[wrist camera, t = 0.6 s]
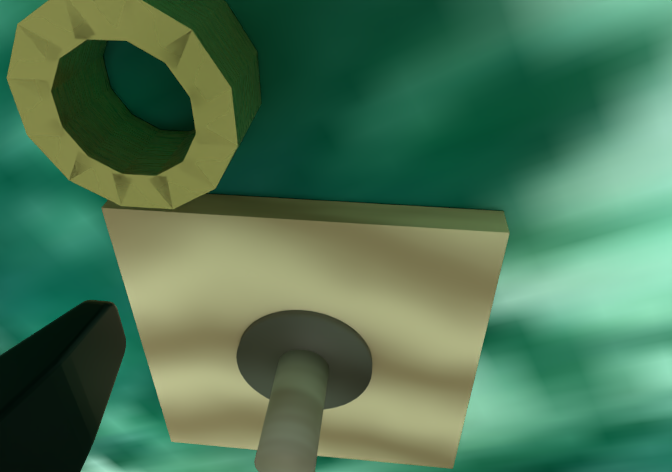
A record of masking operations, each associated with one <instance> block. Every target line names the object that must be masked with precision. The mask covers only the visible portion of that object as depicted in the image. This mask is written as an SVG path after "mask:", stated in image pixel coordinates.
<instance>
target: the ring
mask: <svg viewBox="0 0 672 472" xmlns="http://www.w3.org/2000/svg"><path fill="white" fill-rule="evenodd" d="M107 40H118V41H128V42H130V43H131V44H133V45H135V46H137V47H138V48H140V49H142V50H144V51H145V52H147V53H149V54H151V55H152V56H154V57H156V58H158V59H159V60H161V61H163V62H165V63H166V65H167V66H168V68H169V69H170V70H171V72H172V73H173V74H174V76H175V77H176V79H177V80H178V81H179V83H180V84H181V85H182V87H183V88H184V90H185V91H186V92H187V94H188V95H189V96H190V99H191V105H192V111H193V118H194V124H195V129H193V130H192V131H171V130H160V129H158V128H156V127H154V126H152V125H150V124H148V123H147V122H145V121H143V120H141V119H139V118H137V117H135V116H134V115H132V114H131V113H130V112H129V110H128V109H127V108H126V107H125V105H124V104H123V103H122V102H121V100H120V99H119V98H118V97H117V95H116V94H115V93H114V92H113V90H112V89H111V88H110V84H109V80H108V76H107V72H106V68H105V64H104V60H103V53H104V50H105V47H106V43H107ZM7 81H8V83H9V86H10V89H11V92H12V94H13V97H14V100H15V103H16V105H17V108H18V111H19V114H20V116H21V119H22V122H23V125H24V127H25V130H26V133H27V135H28V136H29V138H30V139H31V140H32V141H33V142H34V143H35V144H36V145H37V146H38V147H39V148H40V149H41V150H42V152H43V153H44V154H45V155H46V156H47V157H48V158H49V159H50V160H51V161H52V162H53V163H54V164H55V166H56V167H57V168H58V169H59V170H60V171H61V172H62V173H63V174H64V175H65V176H66V177H67V178H68V179H69V180H70V181H72V182H74V183H76V184H78V185H80V186H82V187H84V188H86V189H88V190H90V191H92V192H94V193H96V194H98V195H100V196H102V197H104V198H106V199H108V200H110V201H112V202H114V203H116V204H118V205H120V206H128V207H145V208H161V209H175V208H177V207H179V206H181V205H183V204H185V203H187V202H189V201H191V200H193V199H195V198H197V197H199V196H201V195H203V194H205V193H207V192H209V191H211V190H214V189H215V188H216V187H217V185H218V183H219V181H220V179H221V178H222V176H223V174H224V172H225V170H226V169H227V167H228V165H229V163H230V161H231V160H232V158H233V156H234V154H235V152H236V151H237V149H238V147H239V145H240V143H241V141H242V140H243V138H244V136H245V134H246V132H247V130H248V128H249V126H250V124H251V122H252V121H253V119H254V117H255V115H256V113H257V111H258V109H259V107H260V105H261V104H262V103H261V91H260V78H259V66H258V53H257V51H256V49H255V47H254V46H253V44H252V43H251V41H250V39H249V38H248V36H247V35H246V33H245V31H244V30H243V28H242V27H241V25H240V24H239V22H238V20H237V19H236V17H235V16H234V14H233V12H232V11H231V9H230V8H229V6H228V4H227V3H226V1H224V0H48V1H47V2H46V3H45V4H43V5H42V6H41V7H39V8H38V9H37V10H35V11H34V12H33V13H31V14H30V15H29V16H27V17H26V18H25V19H24V20H22V21H21V22H20V23H18V24H17V29H16V34H15V40H14V45H13V50H12V55H11V60H10V65H9V70H8V75H7Z"/></svg>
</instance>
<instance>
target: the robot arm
mask: <svg viewBox="0 0 672 472" xmlns="http://www.w3.org/2000/svg"><path fill="white" fill-rule="evenodd" d="M125 348H126V338H125V334H124V331H123V327H122V324H121V320H120V317H119V313H118V310H117V307H116V306H115V304H114V303H112V302H108V301H97V300H87V301H84V302H82V303H81V304H79V305H77V306H76V307H74V308H73V309H71V310H70V311H68V312H67V313H65V314H64V315H62V316H60V317H59V318H57V319H56V320H54V321H53V322H51V323H50V324H48V325H47V326H45V327H43V328H42V329H40V330H39V331H37V332H36V333H34V334H33V335H31V336H30V337H28V338H26V339H25V340H23V341H22V342H20V343H19V344H17V345H16V346H14V347H13V348H11V349H9V350H8V351H6V352H5V353H3V354H2V355H0V472H80V471H81V469H82V467H83V465H84V463H85V461H86V458H87V456H88V454H89V452H90V449H91V447H92V445H93V442H94V440H95V437H96V434H97V432H98V429H99V426H100V423H101V420H102V417H103V414H104V411H105V409H106V406H107V403H108V400H109V397H110V394H111V391H112V388H113V385H114V382H115V379H116V376H117V373H118V370H119V368H120V365H121V362H122V359H123V356H124V353H125Z"/></svg>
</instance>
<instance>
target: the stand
mask: <svg viewBox="0 0 672 472" xmlns="http://www.w3.org/2000/svg"><path fill="white" fill-rule="evenodd" d="M102 211H103V215H104V218H105V221H106V225H107V228H108V231H109V235H110V238H111V241H112V245H113V248H114V251H115V255H116V258H117V261H118V265H119V268H120V271H121V275H122V278H123V281H124V285H125V288H126V291H127V295H128V298H129V301H130V305H131V308H132V311H133V315H134V318H135V321H136V325H137V328H138V331H139V335H140V338H141V341H142V345H143V348H144V351H145V355H146V358H147V361H148V365H149V368H150V371H151V375H152V378H153V381H154V385H155V388H156V391H157V395H158V398H159V401H160V405H161V408H162V411H163V415H164V418H165V421H166V425H167V428H168V431H169V435H170V438H171V441H172V442H181V443H191V444H202V445H212V446H222V447H233V448H243V449H254V450H257V453H256V457H255V467H256V469H257V470H258V471H259V472H315V466H316V459H317V456H326V457H337V458H347V459H358V460H368V461H378V462H389V463H399V464H410V465H420V466H430V467H441V468H451V469H453V466H454V462H455V457H456V453H457V449H458V445H459V441H460V437H461V433H462V428H463V424H464V420H465V416H466V412H467V408H468V403H469V399H470V395H471V391H472V387H473V383H474V379H475V374H476V370H477V366H478V362H479V358H480V354H481V349H482V345H483V341H484V337H485V333H486V329H487V324H488V320H489V316H490V312H491V308H492V304H493V300H494V295H495V291H496V287H497V283H498V279H499V275H500V270H501V266H502V262H503V258H504V254H505V250H506V246H507V241H508V237H509V229H508V226H507V222H506V218H505V215H504V211H492V210H475V209H458V208H440V207H423V206H406V205H389V204H372V203H355V202H337V201H320V200H303V199H286V198H269V197H252V196H235V195H217V194H203V195H201V196H199V197H197V198H195V199H193V200H191V201H189V202H187V203H185V204H183V205H181V206H179V207H177V208H175V209H161V208H145V207H128V206H120V205H118V204H116V203H114V202H112V201H110V200H108V201H107V202H106V203H105V204H104V205H103V207H102Z"/></svg>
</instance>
